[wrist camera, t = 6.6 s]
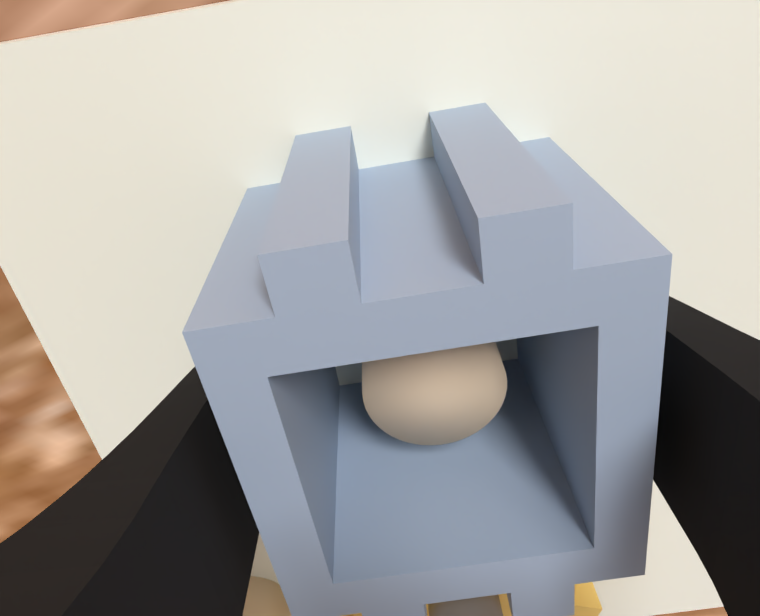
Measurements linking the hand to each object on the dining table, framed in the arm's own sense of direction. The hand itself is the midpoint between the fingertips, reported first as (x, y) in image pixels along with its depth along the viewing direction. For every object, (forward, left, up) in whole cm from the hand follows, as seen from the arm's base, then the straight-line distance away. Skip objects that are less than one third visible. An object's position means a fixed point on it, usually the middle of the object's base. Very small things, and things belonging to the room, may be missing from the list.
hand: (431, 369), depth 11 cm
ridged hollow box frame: (0, 0, -2) cm, 2 cm away
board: (-3, 0, -3) cm, 5 cm away
